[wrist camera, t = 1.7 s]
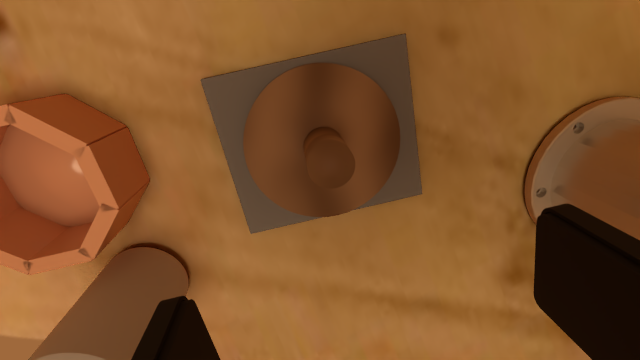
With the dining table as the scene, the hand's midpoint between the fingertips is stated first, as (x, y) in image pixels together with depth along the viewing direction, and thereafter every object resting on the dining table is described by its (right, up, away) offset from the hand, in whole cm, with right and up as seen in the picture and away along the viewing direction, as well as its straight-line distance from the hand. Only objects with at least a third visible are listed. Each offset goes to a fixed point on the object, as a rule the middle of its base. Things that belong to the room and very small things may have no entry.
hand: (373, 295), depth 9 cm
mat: (-1, +6, +16) cm, 17 cm away
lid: (-1, +6, +16) cm, 17 cm away
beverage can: (-15, -5, +19) cm, 25 cm away
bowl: (-19, +4, +15) cm, 25 cm away
